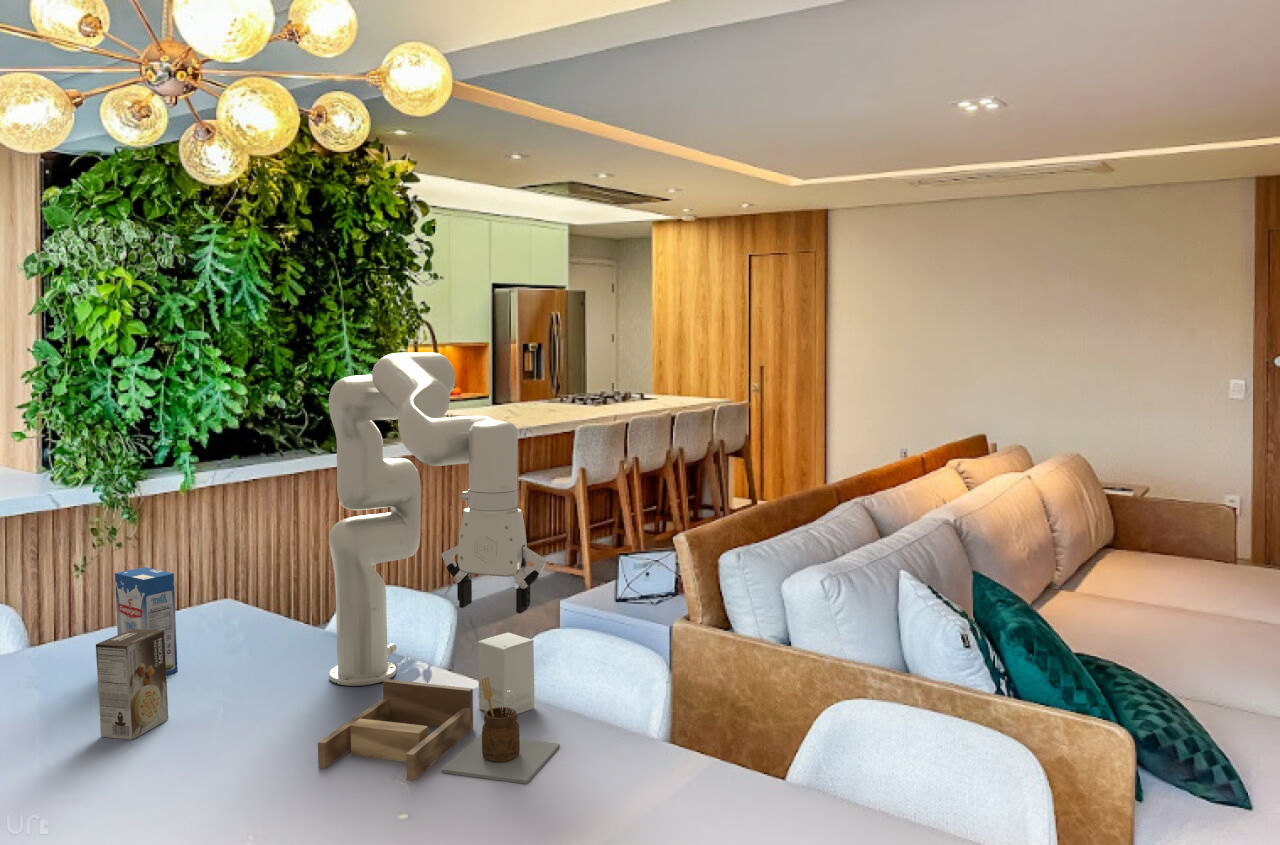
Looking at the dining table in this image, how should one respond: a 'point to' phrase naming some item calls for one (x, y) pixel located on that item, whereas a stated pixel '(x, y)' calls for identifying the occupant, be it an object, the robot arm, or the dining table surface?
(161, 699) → the coffee box
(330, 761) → the walnut u-shaped frame
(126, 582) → the milk carton
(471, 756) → the slate mat
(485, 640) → the supplement box
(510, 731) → the utensil holder
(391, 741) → the oak offcut block
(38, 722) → the dining table surface
